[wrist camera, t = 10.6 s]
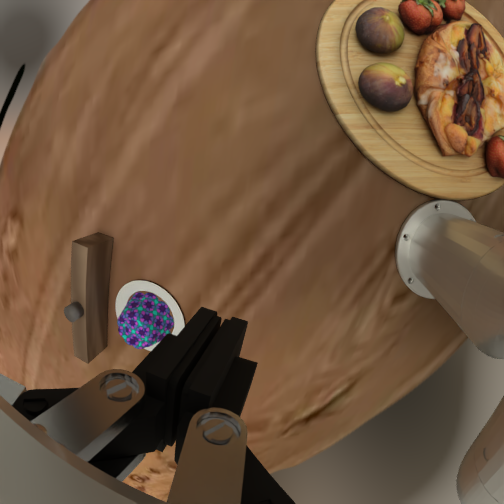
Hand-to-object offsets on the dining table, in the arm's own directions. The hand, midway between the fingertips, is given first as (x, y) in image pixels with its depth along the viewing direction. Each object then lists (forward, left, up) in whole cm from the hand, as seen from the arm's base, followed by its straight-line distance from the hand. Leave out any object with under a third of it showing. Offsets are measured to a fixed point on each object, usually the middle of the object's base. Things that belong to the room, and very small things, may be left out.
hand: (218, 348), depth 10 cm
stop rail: (+24, +19, -26) cm, 40 cm away
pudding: (+15, +19, -27) cm, 36 cm away
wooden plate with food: (-14, -25, -27) cm, 39 cm away
